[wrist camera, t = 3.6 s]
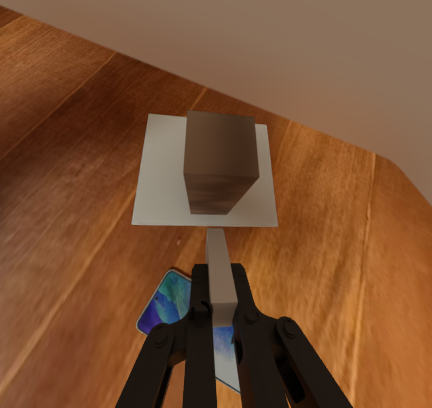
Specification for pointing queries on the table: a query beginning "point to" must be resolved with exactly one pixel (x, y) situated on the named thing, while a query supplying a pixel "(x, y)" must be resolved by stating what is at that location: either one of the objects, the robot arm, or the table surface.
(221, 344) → the smartphone
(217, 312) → the robot arm
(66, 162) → the table surface
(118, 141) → the table surface
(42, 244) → the table surface
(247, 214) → the mat
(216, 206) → the walnut block
